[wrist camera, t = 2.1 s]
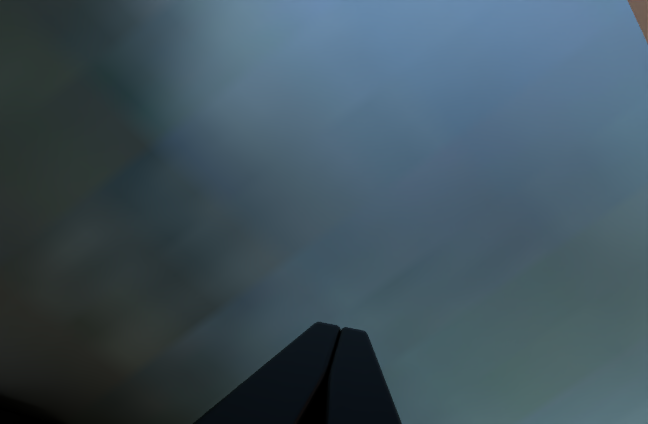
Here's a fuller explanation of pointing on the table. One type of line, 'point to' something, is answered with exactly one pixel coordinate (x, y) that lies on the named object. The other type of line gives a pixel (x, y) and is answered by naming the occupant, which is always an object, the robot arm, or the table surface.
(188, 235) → the table surface
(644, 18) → the block
